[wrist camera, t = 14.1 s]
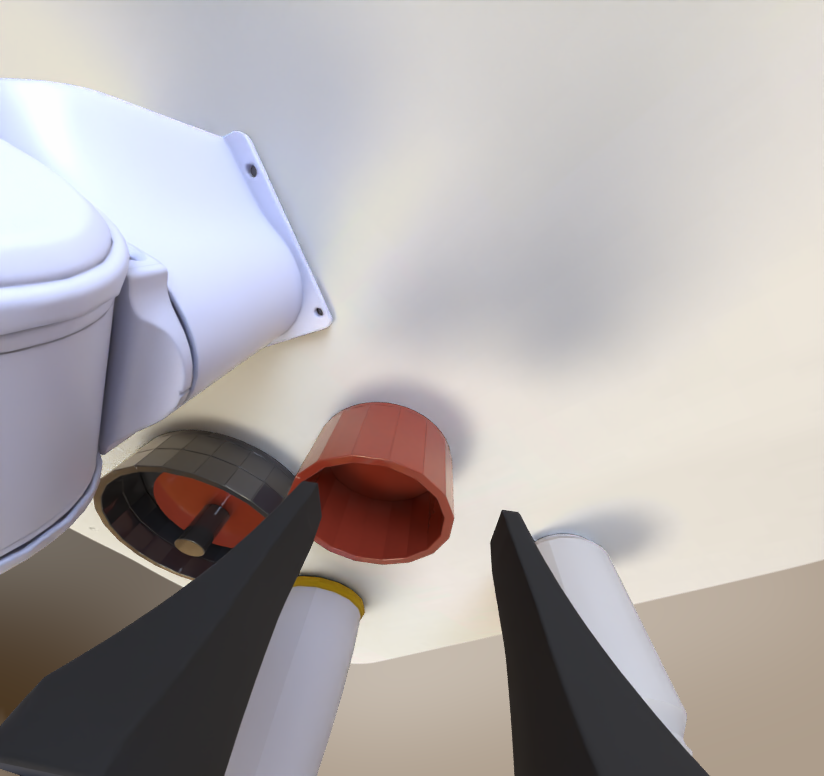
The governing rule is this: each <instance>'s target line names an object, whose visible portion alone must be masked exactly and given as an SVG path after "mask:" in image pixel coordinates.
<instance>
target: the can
mask: <svg viewBox="0 0 824 776" xmlns="http://www.w3.org/2000/svg"><path fill="white" fill-rule="evenodd" d="M535 544H536V545H537V547H538V549H539V551H540V553H541V554H542V556H543V558H544V560H545V561H546V563H547V565H548V566H549V568H550V570H551V571H552V573H553V575H554V576H555V578H556V580H557V581H558V583H559V585H560V586H561V588H562V589H563V591H564V593H565V594H566V596H567V597H568V599H569V600H570V602H571V603H572V605H573V606H574V608H575V609H576V611H577V612H578V614H579V615H580V617H581V618H582V620H583V621H584V623H585V624H586V625H587V627H588V628H589V630H590V631H591V633H592V634H593V635H594V637H595V638H596V639H597V641H598V642H599V644H600V645H601V646H602V648H603V649H604V650H605V652H606V653H607V654H608V656H609V657H610V658H611V660H612V661H613V662H614V663H615V665H616V666H617V667H618V669H619V670H620V671H621V673H622V674H623V675H624V676H625V677H626V679H627V680H628V681H629V682H630V684H631V685H632V686H633V687H634V689H635V690H636V691H637V692H638V693H639V695H640V696H641V697H642V698H643V700H644V701H645V702H646V703H647V705H648V706H649V707H650V708H651V709H652V711H653V712H654V713H655V714H656V716H657V717H658V718H659V719H660V720H661V721H662V722H663V724H664V725H665V726H666V727H667V728H668V729H669V731H670V732H671V733H672V734H673V735H674V736H675V738H676V739H677V740H678V741H679V742H680V743H681V745H682V746H683V747H684V748H685V749H686V750H687V751H688V752H689V754H690V755H691V756H692V753H693V752H692V750H691V749H690V748H688V747H687V746H686V744H685V742H684V740H683V735H684V731H685V725H686V721H687V713H686V711H685V709H684V707H683V705H682V703H681V701H680V699H679V697H678V695H677V693H676V691H675V689H674V687H673V685H672V683H671V681H670V679H669V677H668V674H667V673H666V670H665V669H664V666H663V665H662V662H661V661H660V658H659V656H658V654H657V652H656V650H655V648H654V646H653V644H652V642H651V640H650V638H649V636H648V634H647V632H646V630H645V628H644V626H643V624H642V622H641V620H640V618H639V616H638V614H637V612H636V610H635V608H634V606H633V604H632V602H631V600H630V598H629V595H628V593H627V591H626V589H625V587H624V585H623V583H622V581H621V579H620V577H619V575H618V573H617V571H616V569H615V567H614V565H613V563H612V561H611V559H610V557H609V555H608V553H607V552H606V551H605V550H604V549H603V548H602V546H600V545H598V544H596V543H594V542H592V541H589V540H587V539H585V538H583V537H581V536H577V535H572V534H556V535H550V536H547V537H544V538H541V539H539V540H537V541H536V542H535Z"/></svg>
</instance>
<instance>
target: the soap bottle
mask: <svg viewBox="0 0 824 776" xmlns="http://www.w3.org/2000/svg"><path fill="white" fill-rule="evenodd" d="M364 613H365V611H364V605H363V601H362V599H361V598H360V597H359V596H358V595H357V594H356V593H355V592H354V591H353V590H351V589H349V588H347V587H345V586H344V585H342V584H340V583H338V582H334V581H331V580H327V579H324V578H320V577H308V576H299V577H297V579H296V581H295V583H294V585H293V587H292V589H291V592H290V594H289V596H288V598H287V600H286V602H285V604H284V607H283V609H282V611H281V614H280V616H279V618H278V621H277V624H276V626H275V629H274V632H273V634H272V637H271V640H270V642H269V645H268V648H267V650H266V653H265V656H264V659H263V662H262V664H261V667H260V670H259V673H258V676H257V678H256V681H255V684H254V687H253V690H252V693H251V696H250V699H249V702H248V705H247V708H246V710H245V713H244V716H243V719H242V722H241V725H240V728H239V731H238V735H237V738H236V741H235V744H234V747H233V750H232V753H231V756H230V760H229V763H228V766H227V769H226V772H225V775H224V776H317V773H318V770H319V767H320V764H321V761H322V758H323V755H324V752H325V749H326V746H327V743H328V739H329V736H330V733H331V729H332V726H333V723H334V720H335V716H336V713H337V710H338V706H339V703H340V699H341V696H342V693H343V689H344V685H345V681H346V677H347V673H348V670H349V666H350V662H351V658H352V654H353V650H354V646H355V641H356V636H357V631H358V627H359V622H360V620H361V618H362V617H363V615H364Z"/></svg>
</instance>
